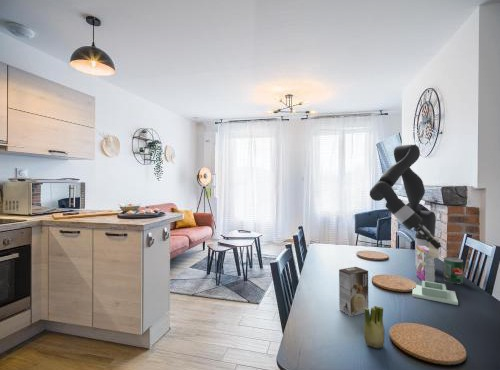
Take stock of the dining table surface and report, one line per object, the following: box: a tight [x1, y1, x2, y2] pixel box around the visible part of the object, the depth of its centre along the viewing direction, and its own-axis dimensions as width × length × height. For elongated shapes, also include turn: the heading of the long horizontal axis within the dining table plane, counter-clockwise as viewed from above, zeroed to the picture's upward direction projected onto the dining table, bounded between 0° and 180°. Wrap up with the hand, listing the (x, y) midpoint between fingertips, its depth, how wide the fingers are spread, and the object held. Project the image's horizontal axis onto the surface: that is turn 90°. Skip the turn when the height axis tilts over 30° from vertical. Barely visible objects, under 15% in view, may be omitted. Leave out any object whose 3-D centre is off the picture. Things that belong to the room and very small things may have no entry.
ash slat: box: [429, 236, 440, 259], centre depth 120 cm, size 4×4×8 cm
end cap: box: [411, 280, 459, 306], centre depth 121 cm, size 13×16×4 cm
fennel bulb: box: [363, 305, 385, 349], centre depth 84 cm, size 6×5×12 cm
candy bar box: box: [415, 246, 436, 283], centre depth 139 cm, size 11×5×16 cm, turn 168°
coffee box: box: [338, 266, 369, 317], centre depth 106 cm, size 9×6×16 cm
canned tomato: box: [443, 256, 464, 285], centre depth 138 cm, size 8×8×11 cm
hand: (438, 246), depth 119 cm, fingers closed on ash slat, 4 cm apart
